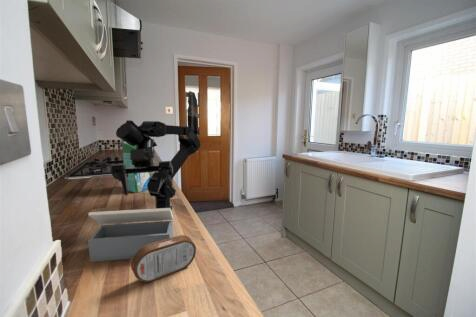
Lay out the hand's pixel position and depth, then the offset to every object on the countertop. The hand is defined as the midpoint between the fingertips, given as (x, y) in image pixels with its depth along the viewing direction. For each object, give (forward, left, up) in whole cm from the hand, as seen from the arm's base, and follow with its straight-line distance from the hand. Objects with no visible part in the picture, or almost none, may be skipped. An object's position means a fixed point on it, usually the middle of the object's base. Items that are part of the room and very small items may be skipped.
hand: (141, 193), depth 73 cm
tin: (+21, +10, -14) cm, 27 cm away
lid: (+8, 0, -4) cm, 9 cm away
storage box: (+9, 0, -13) cm, 16 cm away
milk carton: (-50, -13, -14) cm, 54 cm away
